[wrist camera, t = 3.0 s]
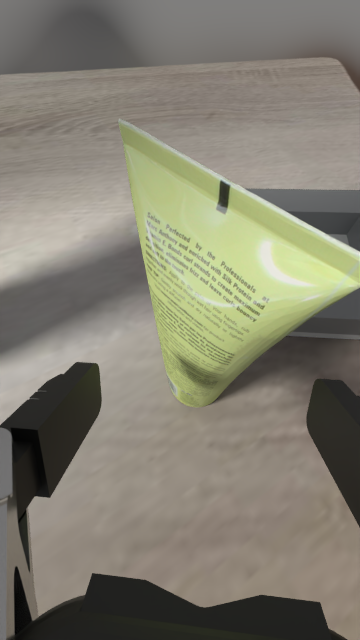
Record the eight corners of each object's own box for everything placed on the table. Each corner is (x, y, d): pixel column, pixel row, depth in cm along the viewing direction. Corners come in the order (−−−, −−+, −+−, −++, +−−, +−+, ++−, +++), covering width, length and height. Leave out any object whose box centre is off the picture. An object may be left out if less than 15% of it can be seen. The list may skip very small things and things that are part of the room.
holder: (240, 333, 25) (249, 314, 22) (237, 217, 32) (242, 188, 29) (413, 342, 24) (452, 323, 20) (369, 220, 31) (393, 190, 28)
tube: (229, 354, 24) (328, 111, 7) (232, 410, 22) (390, 263, 4) (169, 352, 24) (117, 116, 7) (166, 408, 22) (76, 260, 5)
